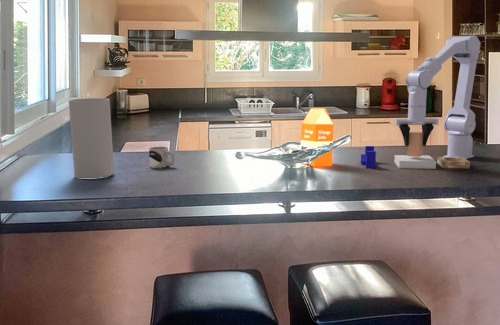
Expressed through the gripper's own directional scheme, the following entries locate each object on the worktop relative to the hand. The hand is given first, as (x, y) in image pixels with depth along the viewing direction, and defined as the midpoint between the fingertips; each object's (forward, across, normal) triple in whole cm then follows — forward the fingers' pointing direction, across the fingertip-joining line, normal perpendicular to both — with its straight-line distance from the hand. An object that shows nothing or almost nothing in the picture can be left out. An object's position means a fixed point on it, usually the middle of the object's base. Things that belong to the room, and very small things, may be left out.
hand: (415, 145), depth 186 cm
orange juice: (+7, +34, -5) cm, 35 cm away
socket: (+7, -13, +2) cm, 15 cm away
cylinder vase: (+7, +109, +6) cm, 109 cm away
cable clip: (+7, +16, -2) cm, 18 cm away
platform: (+7, 0, 0) cm, 7 cm away
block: (+3, 0, 0) cm, 3 cm away
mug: (+7, +88, -7) cm, 88 cm away
